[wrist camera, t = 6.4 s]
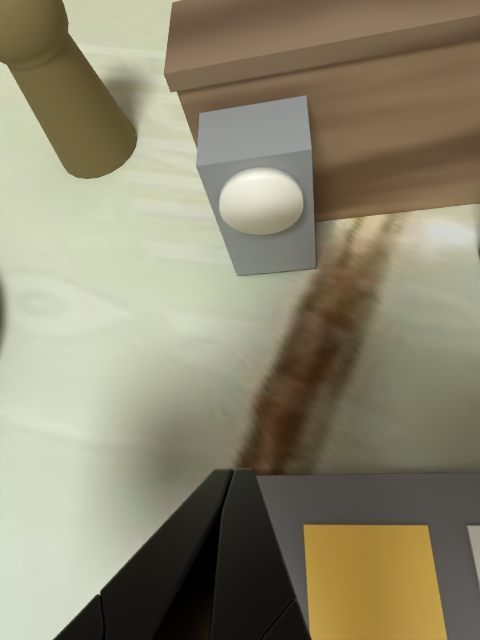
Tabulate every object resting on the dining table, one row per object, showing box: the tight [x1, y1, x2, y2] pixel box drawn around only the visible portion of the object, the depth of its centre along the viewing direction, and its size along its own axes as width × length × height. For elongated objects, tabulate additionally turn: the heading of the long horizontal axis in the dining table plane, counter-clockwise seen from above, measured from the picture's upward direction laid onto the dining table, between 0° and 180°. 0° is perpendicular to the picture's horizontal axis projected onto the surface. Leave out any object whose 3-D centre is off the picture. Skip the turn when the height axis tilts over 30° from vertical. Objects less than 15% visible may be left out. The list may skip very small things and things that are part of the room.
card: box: [257, 473, 480, 640], centre depth 16 cm, size 9×16×1 cm, turn 90°
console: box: [164, 0, 480, 222], centre depth 20 cm, size 5×19×11 cm, turn 90°
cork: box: [0, 0, 137, 179], centre depth 26 cm, size 6×6×11 cm
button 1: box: [196, 96, 316, 276], centre depth 20 cm, size 4×4×8 cm
